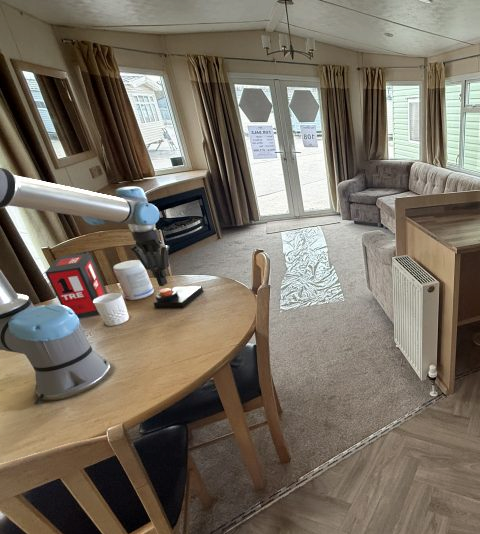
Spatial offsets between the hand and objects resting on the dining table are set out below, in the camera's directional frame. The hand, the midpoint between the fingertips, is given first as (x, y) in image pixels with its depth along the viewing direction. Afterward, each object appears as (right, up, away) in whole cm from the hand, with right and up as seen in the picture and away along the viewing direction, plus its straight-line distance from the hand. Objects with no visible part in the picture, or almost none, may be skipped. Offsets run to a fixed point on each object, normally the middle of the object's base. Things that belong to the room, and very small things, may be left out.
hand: (163, 284), depth 136 cm
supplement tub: (-17, -5, +9) cm, 20 cm away
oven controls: (+2, -7, +6) cm, 9 cm away
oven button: (0, -4, +2) cm, 5 cm away
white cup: (-10, -14, -9) cm, 19 cm away
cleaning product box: (-29, -9, -1) cm, 30 cm away
